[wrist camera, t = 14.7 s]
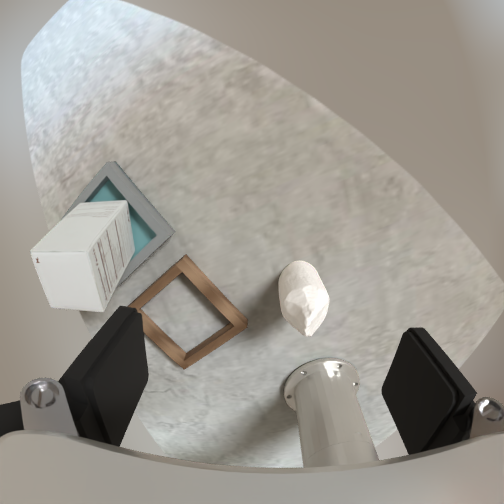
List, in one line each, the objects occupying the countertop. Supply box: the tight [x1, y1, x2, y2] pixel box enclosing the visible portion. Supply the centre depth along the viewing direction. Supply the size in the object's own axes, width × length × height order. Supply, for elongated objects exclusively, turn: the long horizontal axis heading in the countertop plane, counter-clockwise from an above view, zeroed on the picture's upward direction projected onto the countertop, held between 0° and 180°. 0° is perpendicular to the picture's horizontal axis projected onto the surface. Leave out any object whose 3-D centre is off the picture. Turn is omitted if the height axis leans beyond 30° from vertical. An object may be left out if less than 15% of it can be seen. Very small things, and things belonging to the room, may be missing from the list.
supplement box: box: [30, 200, 135, 312], centre depth 30 cm, size 7×7×13 cm
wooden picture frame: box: [128, 255, 248, 369], centre depth 40 cm, size 12×12×2 cm
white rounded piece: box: [278, 261, 329, 337], centre depth 34 cm, size 6×12×6 cm
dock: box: [60, 162, 175, 288], centre depth 36 cm, size 12×12×2 cm
